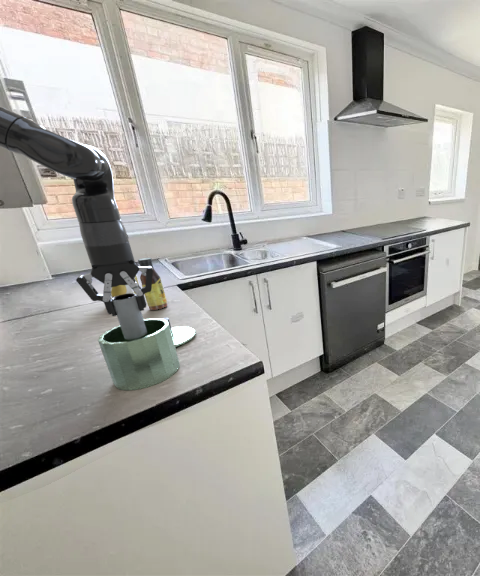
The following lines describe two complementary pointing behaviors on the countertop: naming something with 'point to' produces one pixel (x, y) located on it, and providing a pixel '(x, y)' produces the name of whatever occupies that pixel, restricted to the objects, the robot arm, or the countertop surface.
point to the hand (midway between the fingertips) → (128, 311)
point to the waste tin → (140, 356)
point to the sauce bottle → (153, 288)
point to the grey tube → (129, 316)
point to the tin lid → (181, 334)
